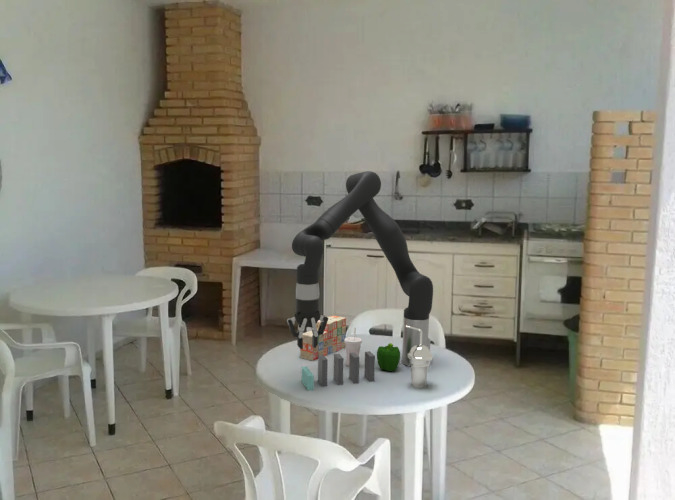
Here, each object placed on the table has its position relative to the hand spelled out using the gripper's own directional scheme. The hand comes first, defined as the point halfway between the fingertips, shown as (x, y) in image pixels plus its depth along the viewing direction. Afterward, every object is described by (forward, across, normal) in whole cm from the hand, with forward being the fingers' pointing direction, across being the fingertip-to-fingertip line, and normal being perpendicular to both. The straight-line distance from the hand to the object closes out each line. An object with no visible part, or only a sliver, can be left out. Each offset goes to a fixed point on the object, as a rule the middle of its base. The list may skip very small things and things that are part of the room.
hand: (307, 347), depth 209 cm
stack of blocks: (+13, -15, -32) cm, 38 cm away
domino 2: (+13, -5, 0) cm, 14 cm away
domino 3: (+13, -11, 0) cm, 17 cm away
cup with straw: (+13, -36, +9) cm, 39 cm away
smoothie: (+13, -21, -15) cm, 29 cm away
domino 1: (+10, 0, +5) cm, 11 cm away
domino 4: (+13, -16, 0) cm, 21 cm away
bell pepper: (+13, -32, -8) cm, 35 cm away
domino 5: (+13, -22, 0) cm, 25 cm away
